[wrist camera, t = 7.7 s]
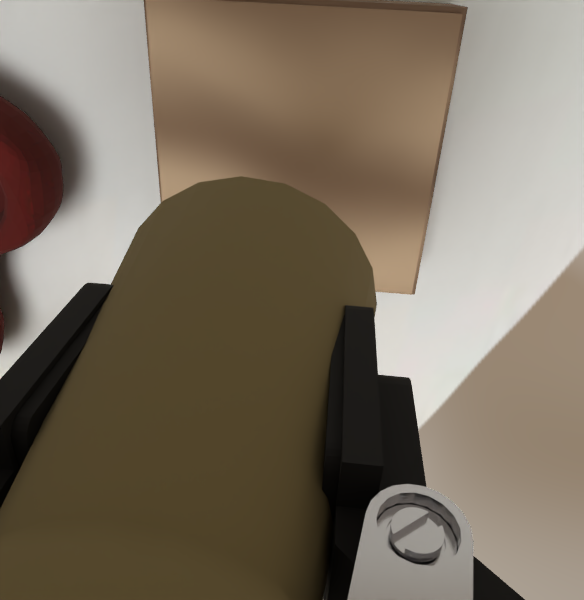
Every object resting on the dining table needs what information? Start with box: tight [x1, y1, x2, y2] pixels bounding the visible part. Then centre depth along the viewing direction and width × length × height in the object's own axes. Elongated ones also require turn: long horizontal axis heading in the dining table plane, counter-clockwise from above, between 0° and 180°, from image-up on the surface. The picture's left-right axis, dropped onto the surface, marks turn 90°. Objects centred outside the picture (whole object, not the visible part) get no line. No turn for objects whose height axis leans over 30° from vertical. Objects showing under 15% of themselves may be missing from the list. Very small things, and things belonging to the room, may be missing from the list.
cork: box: [0, 176, 377, 600], centre depth 8 cm, size 6×6×11 cm
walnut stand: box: [144, 0, 468, 295], centre depth 24 cm, size 12×12×4 cm
